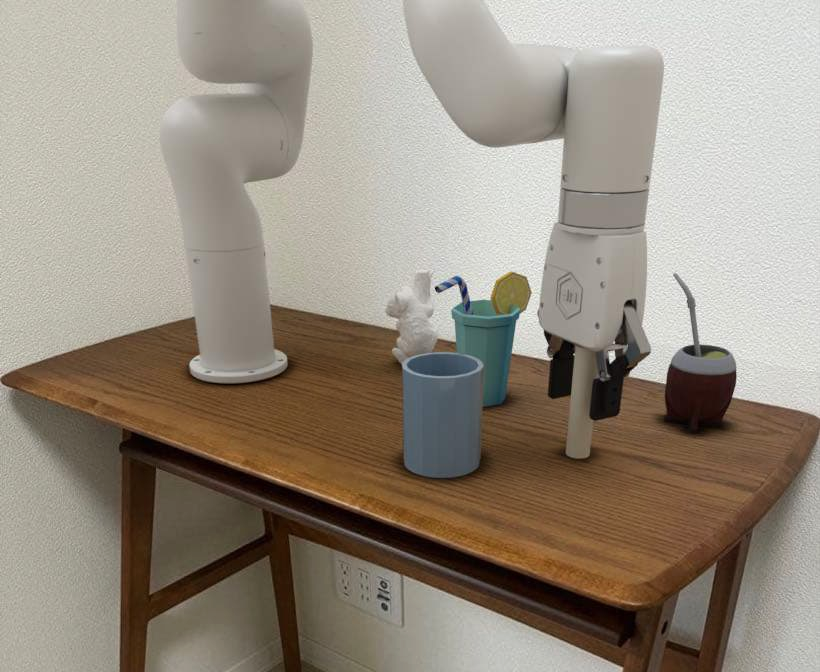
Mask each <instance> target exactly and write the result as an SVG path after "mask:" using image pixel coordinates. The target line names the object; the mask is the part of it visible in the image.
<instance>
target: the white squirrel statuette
mask: <svg viewBox="0 0 820 672" xmlns="http://www.w3.org/2000/svg"><path fill="white" fill-rule="evenodd" d="M434 273H435V270H434V269H432V268H428V269H418V270H417V269H416V271H415V273H414V278H413V285H412V286H413V287H411V286H410V285H404V286H402V287H401V289H400V290H399V291H398V292H396V293H395V294H393V295H392V296H391V297H390V298H389V299H388V302H387V305H386V307H385V309H384V313H385V315H386V316H387V317H388V316H389V317H390V318H395V319H398V320H397V322H396V326H395V328H396V330H397V331H398V333H399V336H398V337H397V338H396V340H395V343H396V346H397V347H393V348H392V350H391V354H392V355H393V356H394V357H395V358H396V359H397V360H398V363H399V364H401V365H402V363H403V362H404V361H405V360H406V359H407V358H410V357H413V356H415V355H419V354H425V353H433V350H434V349H435V347H436V344H437V342H438V339H439V330H438V329H437V327H436V325H435V324H431V322H430V321H429V320H428V319H430V318H431V317H433V316H434V311H435V305H434V302H433V301H432V296H431V282H432V277H433V274H434Z"/></svg>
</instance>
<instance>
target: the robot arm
mask: <svg viewBox="0 0 820 672" xmlns="http://www.w3.org/2000/svg"><path fill="white" fill-rule="evenodd" d="M176 2H177V3H176V5H177V7H176V35H177V39H176V40H177V49H178V53H179V57H180V60H181V63H182V65H183V66H184V68H185V69H186V71H187V72H188V73H189V74H190V75H192V76H193V77H194V78H196V79H198V80H201V81H204V82H205V83H211V84H218V85H219V84H221V85H222V84H223V85H236V84H237V85H239V84H240V85H241V84H242V85H243V90H242V91H243V92H241V93H240V92H239V93H230V92H226V93H225V92H224V93H223V92H221V93H202V94H194V95H189V96H187V97H184V98H181V99H179V100H177V101H175V102H174V103H173V104H171V105H170V106H169V108H168V109H166V111H165V113H164V115H163V116H162V119H161V122H160V125H159V144H160V149H161V153H162V157H163V161H164V163H165V166H166V169H167V172H168V175H169V179H170V182H171V185H172V188H173V192H174V195H175V199H176V204H177V208H178V214H179V219H180V226H181V232H182V239H183V245H184V252H185V259H186V266H187V271H188V272H187V273H188V279H189V287H190V294H191V295H190V296H191V301H192V308H193V314H194V322H195V329H196V338H197V343H198V349H199V351H198V352H199V354H198V355H196V356H195V357H193V358H192V359H191V360H190V361H189V364H188V367H189V372H190V375H192V376H193V377H194V378H196V379H197V380H200V381H203V382H208V383H213V384H225V385H226V384H229V385H230V384H246V383H253V382H259V381H263V380H267V379H271V378H273V377H275V376H278V375H279V374H280V375H281V374H282V373H283V372H284V371H285V370H286V369H287V368H288V356H287V355H286V354H285V353H284V352H283V351H281V350H278V349H275V344H274V343H275V342H274V332H273V331H274V330H273V320H272V311H271V299H270V290H269V280H268V269H267V268H268V267H267V258H266V248H265V238H264V229H263V223H262V220H261V217H260V214H259V212H258V209H257V207H256V205H255V203H254V201H253V199H252V198H251V196H250V194H249V193H248V191H247V189H246V186H245V184H247V183H255V182H260V181H261V182H262V181H267V180H272V179H277V178H280V177H282V176H284V175H286V174H288V173H289V172H290V171H292V169H293V168H294V166H295V165H296V164H297V162H298V159H299V157H300V154H301V150H302V146H303V141H304V133H305V126H306V118H307V110H308V109H307V108H308V100H309V93H310V85H311V84H310V83H311V78H312V77H311V76H312V69H313V68H312V67H313V58H314V41H313V40H314V39H313V33H312V28H311V24H310V20H309V17H308V14H307V12H306V9H305V8H304V6H303V5H302V3H301V1H300V0H177V1H176ZM402 6H403V7H402V9H403V16H404V21H405V26H406V32H407V37H408V41H409V47H410V49H411V52H412V54H413V57H414V59H415V61H416V63H417V66H418V68H419V69H420V71H421V73H422V75H423V77H424V79H425V80H426V81H427V83H428V85H429V87H430V89H431V90H432V91H433V93H434V96H436V98H437V100H438V101H439V103H440V104H441V106H442V107H443V109H444V111H445V112H446V114H447V115H448V116H449V118H450V119H451V121H452V122H453V123H454V125H455V126H456V127H457V128H458V130H460V131H461V132H462V133H463V135H465V136H466V137H467V138H469V139H470V140H471V141H473V142H475V143H476V144H478V145H480V146H484V147H486V148H493V149H494V148H495V149H497V148H506V147H512V146H513V147H515V146H520V145H529V144H537V143H543V142H544V143H545V142H549V141H557V140H562V139H563V145H562V160H561V172H560V186H559V187H560V188H559V201H558V202H559V203H558V212H557V213H558V215H557V222H554V223H553V226H552V230H551V233H550V235H549V240H548V245H547V249H546V254H545V259H544V265H543V271H542V278H541V285H540V286H541V287H540V294H539V304H538V305H539V306H538V307H539V308H538V309H537V311H536V312H537V313H536V315H537V318H538V324H539V325H540V328H542V330H543V335H544V338H545V340H546V343H547V348H546V354H547V357H548V358H549V360H550V361H549V372H548V373H549V376H548V387H547V397H548V398H549V399H552V400H557V399H560V398H566V397H569V396H570V397H571V389H572V379H573V368H574V357H575V346H576V345H578V346H580V347H583V348H585V349H588V350H591V351H595V354H596V362H597V369H598V378H597V379H593V384H592V393H591V403H590V412H589V416H590V419H592V420H593V422H597V421H601V420H605V419H609V418H615V417H617V416H619V414H620V411H621V405H622V397H623V396H622V395H623V388H624V379H625V378H628V377H629V376H630V374H631V371H633V370H634V369H635V368H636V367H637V366H638V365H639V363H641V362H642V361H644V359H646V358H647V357H648V356H650V354H651V353H652V347H651V344H650V342H649V340H648V337H647V334H646V332H645V330H644V327H643V322H644V316H645V308H646V307H645V306H646V297H647V296H646V295H647V284H648V283H647V281H648V280H647V279H648V240H647V231H645V225H646V218H647V212H648V211H647V210H648V202H649V195H650V186H651V180H652V179H651V178H652V172H653V171H652V169H653V163H654V154H655V147H656V138H657V133H658V132H657V131H658V123H659V116H660V106H661V101H662V100H661V99H662V92H663V85H664V84H663V82H664V75H665V62H664V58H663V55H662V53H661V52H660V50H658V49H657V48H654V47H652V46H648V45H628V44H627V45H626V44H625V45H599V46H598V45H597V46H589V47H585V48H583V49H578V48H572V47H567V46H561V45H560V46H559V45H552V44H536V43H516V42H515V43H514V42H513V43H511V42H510V40H509V39H508V37H507V36H506V35H505V33H504V32H503V29H502V28H501V27H500V24H499V23H498V22H497V20H496V19H495V17H494V15H493V13H492V12H491V10H490V9H489V7H488V5H487V3H486V2H485V0H402ZM613 351H614V358H615V359H613V360H612V361H610V354H609V352H613Z"/></svg>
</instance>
